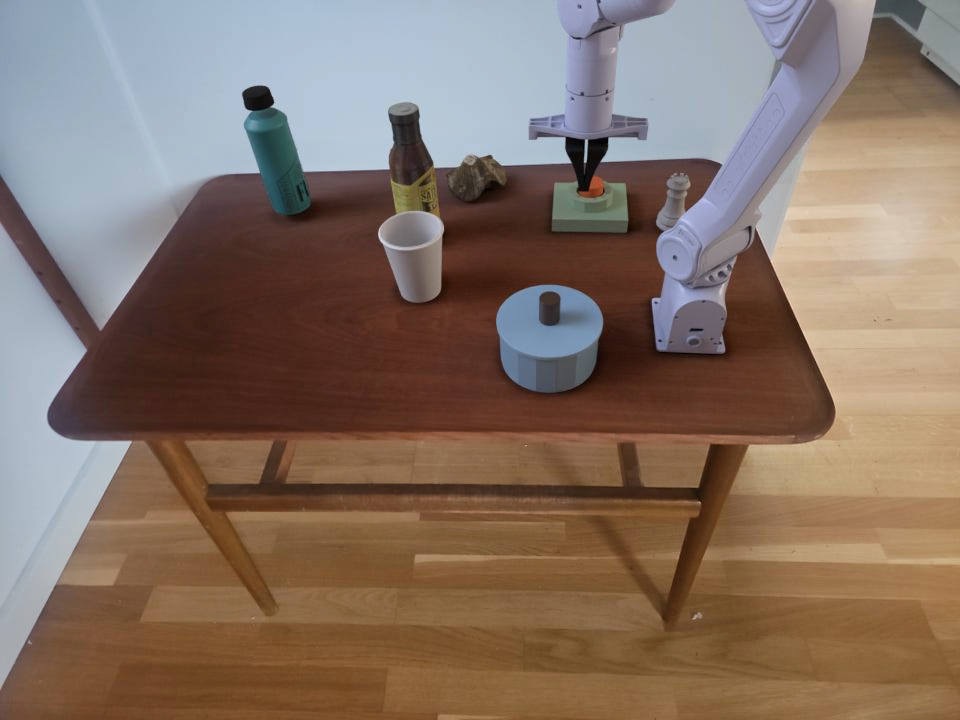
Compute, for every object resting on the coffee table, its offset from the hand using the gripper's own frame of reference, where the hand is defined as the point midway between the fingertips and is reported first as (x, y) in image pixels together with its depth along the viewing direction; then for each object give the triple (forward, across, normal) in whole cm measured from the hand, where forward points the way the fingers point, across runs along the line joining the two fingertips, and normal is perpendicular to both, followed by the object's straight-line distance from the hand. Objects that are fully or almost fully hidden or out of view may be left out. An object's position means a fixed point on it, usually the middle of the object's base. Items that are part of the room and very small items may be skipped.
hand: (583, 187), depth 86 cm
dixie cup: (+10, +22, +10) cm, 26 cm away
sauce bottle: (+10, +24, -2) cm, 26 cm away
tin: (+10, +4, +22) cm, 24 cm away
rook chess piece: (+10, -13, -6) cm, 18 cm away
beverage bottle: (+10, +46, -8) cm, 47 cm away
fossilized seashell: (+10, +17, -15) cm, 25 cm away
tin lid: (+4, +4, +22) cm, 23 cm away
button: (+6, -1, -9) cm, 11 cm away
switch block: (+10, -1, -9) cm, 13 cm away
